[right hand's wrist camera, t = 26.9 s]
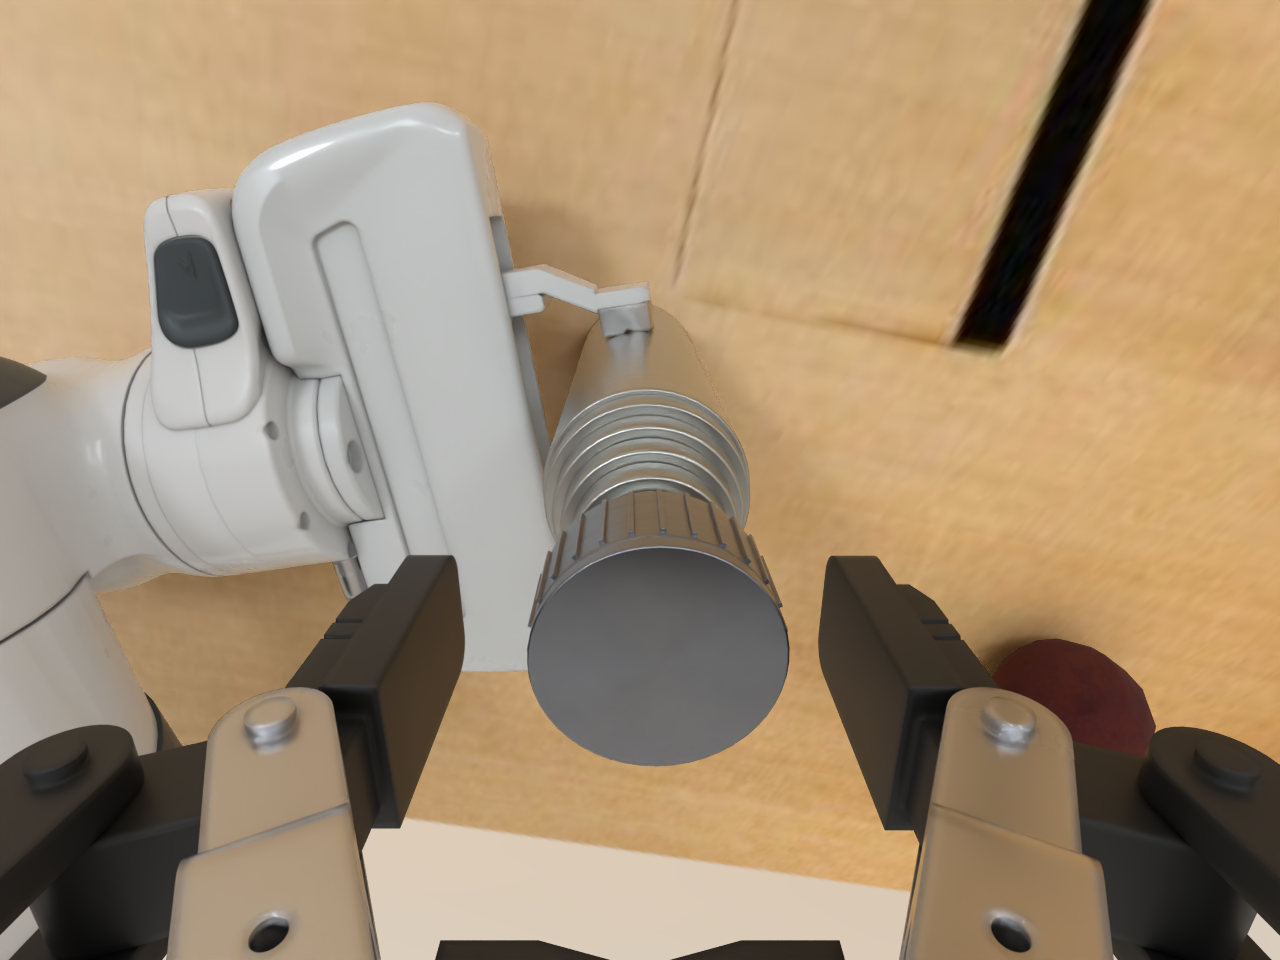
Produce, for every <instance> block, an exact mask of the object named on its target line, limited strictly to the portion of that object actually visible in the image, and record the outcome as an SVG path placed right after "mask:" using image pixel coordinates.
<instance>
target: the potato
mask: <svg viewBox="0 0 1280 960" xmlns="http://www.w3.org/2000/svg"><path fill="white" fill-rule="evenodd" d="M992 679H993V680H994V681H995V683H996V684H997V685H998V687H999V688H1000V689H1002V690H1007V691H1011V692H1014V693H1017V694H1020V695H1022V696H1025V697H1027V698H1030V699H1032V700H1034V701H1036V702H1037V703H1039V704H1041V705H1043V706H1044V707H1046V708H1047V709H1049V710H1050V711H1051V712H1053V713H1054V714H1055V715H1056V716H1057V717H1058V718H1059V719H1060V720H1061V721H1062V722H1063V723H1064V724H1065V726H1066V727H1067V728H1068V730H1069V732H1070V734H1071V737H1072V740H1073V741H1076V742H1079V743H1083V744H1087V745H1091V746H1096V747H1101V748H1105V749H1110V750H1114V751H1119V752H1124V753H1128V754H1133V755H1138V756H1142V757H1144V756H1145V754H1146V751H1147V748H1148V745H1149V742H1150V739H1151V737H1152V736H1153V734H1154V733H1155V729H1156V725H1155V722H1154V720H1153V717H1152V714H1151V711H1150V709H1149V706H1148V703H1147V700H1146V697H1145V695H1144V692H1143V689H1142V688H1141V687H1140V686H1139V685H1138V684H1137V683H1136V682H1135V681H1134V680H1133V678H1132V677H1131V676H1130V675H1129V674H1128V673H1127V672H1126V671H1125V670H1124V669H1122V668H1121V667H1120V666H1118V665H1117V664H1116V663H1115V662H1113V661H1112V660H1111V659H1109V658H1108V657H1107V656H1105V655H1104V654H1102V653H1100V652H1099V651H1097V650H1095V649H1093V648H1091V647H1088V646H1084V645H1081V644H1077V643H1073V642H1069V641H1065V640H1061V639H1048V640H1037V641H1035V642H1032V643H1030V644H1028V645H1026V646H1023V647H1021V648H1019V649H1017V650H1016V651H1015V652H1014V653H1012V654H1011V655H1010V656H1008V657H1007V658H1006V659H1005V660H1004V661H1003V662H1002V664H1001V665H1000V667H999V668H998V670H997V671H996V672H995V674H994V675H993V677H992Z"/></svg>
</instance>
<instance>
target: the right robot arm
mask: <svg viewBox="0 0 1280 960" xmlns="http://www.w3.org/2000/svg"><path fill="white" fill-rule="evenodd" d="M818 648H819V658H820V664H821V669H822V672H823V675H824V677H825V680H826V682H827V685H828V688H829V690H830V693H831V695H832V698H833V700H834V703H835V705H836V708H837V710H838V713H839V715H840V718H841V720H842V723H843V726H844V728H845V731H846V733H847V736H848V738H849V741H850V743H851V746H852V748H853V751H854V753H855V756H856V758H857V761H858V764H859V766H860V769H861V771H862V774H863V776H864V779H865V781H866V784H867V786H868V789H869V791H870V794H871V797H872V799H873V802H874V804H875V807H876V809H877V812H878V814H879V817H880V819H881V822H882V824H883V827H884V829H885V830H914V832H915V834H916V837H917V839H918V841H919V843H920V844H919V849H918V854H917V859H916V864H915V870H914V876H913V881H912V887H911V893H910V899H909V905H908V911H907V917H906V923H905V929H904V934H903V940H902V946H901V952H900V957H899V960H1114V959H1113V954H1114V955H1115V957H1116V958H1117V959H1118V960H1271V959H1270V958H1269V957H1268V956H1267V955H1266V954H1265V953H1264V952H1263V950H1262V949H1261V948H1260V947H1259V946H1258V945H1257V944H1256V943H1255V942H1254V941H1253V940H1252V939H1251V938H1250V937H1249V936H1248V935H1247V934H1248V932H1249V929H1250V927H1251V925H1252V923H1253V921H1254V918H1255V916H1256V914H1257V913H1258V914H1259V915H1260V916H1261V917H1262V918H1263V919H1264V920H1265V921H1266V922H1267V923H1268V924H1269V925H1270V926H1271V927H1272V928H1273V929H1274V930H1275V931H1276V932H1277V933H1278V934H1279V935H1280V765H1279V764H1278V763H1277V762H1275V761H1274V760H1272V759H1271V758H1269V757H1268V756H1266V755H1265V754H1263V753H1261V752H1260V751H1258V750H1256V749H1254V748H1252V747H1250V746H1248V745H1246V744H1244V743H1242V742H1240V741H1237V740H1235V739H1233V738H1230V737H1227V736H1224V735H1221V734H1219V733H1215V732H1211V731H1208V730H1203V729H1198V728H1191V727H1170V728H1164V729H1162V730H1159V731H1157V732H1156V733H1155V734H1153V736H1152V737H1151V739H1150V742H1149V745H1148V748H1147V751H1146V754H1145V756H1144V757H1142V756H1138V755H1133V754H1128V753H1124V752H1119V751H1114V750H1110V749H1105V748H1101V747H1096V746H1091V745H1087V744H1083V743H1079V742H1076V741H1073V740H1072V737H1071V734H1070V732H1069V730H1068V728H1067V727H1066V726H1065V724H1064V723H1063V722H1062V721H1061V720H1060V719H1059V718H1058V717H1057V716H1056V715H1055V714H1054V713H1053V712H1051V711H1050V710H1049V709H1047V708H1046V707H1044V706H1043V705H1041V704H1039V703H1037V702H1036V701H1034V700H1032V699H1030V698H1027V697H1025V696H1022V695H1020V694H1017V693H1014V692H1011V691H1007V690H1002V689H1000V688H999V687H998V685H997V684H996V683H995V681H994V680H993V679H992V677H991V676H990V675H989V673H988V672H987V671H986V669H985V668H984V667H983V665H982V664H981V663H980V661H979V660H978V659H977V657H976V656H975V655H974V653H973V652H972V651H971V649H970V648H969V647H968V645H967V644H966V643H965V641H964V640H961V639H960V635H959V633H958V632H957V631H956V629H955V628H954V627H953V625H952V624H949V623H948V619H947V618H946V616H945V615H944V614H943V612H942V611H941V610H940V608H939V607H938V606H937V604H936V603H935V602H934V601H933V600H932V599H930V598H929V597H927V596H926V595H924V594H923V593H921V592H920V591H918V590H917V589H915V588H914V587H912V586H911V585H896V583H895V582H894V580H893V579H892V577H891V576H890V575H889V573H888V572H887V570H886V569H885V567H884V566H883V564H882V563H881V561H880V560H879V559H878V557H876V556H831V557H830V558H829V559H828V562H827V566H826V572H825V581H824V590H823V599H822V609H821V618H820V627H819V637H818ZM464 653H465V631H464V622H463V613H462V603H461V594H460V585H459V576H458V567H457V563H456V560H455V557H454V556H453V555H408V556H406V558H405V559H404V560H403V562H402V563H401V565H400V566H399V568H398V569H397V571H396V572H395V574H394V575H393V577H392V578H391V580H390V581H389V583H388V584H373V585H372V586H370V587H369V588H367V589H366V590H364V591H363V592H361V593H360V594H358V595H357V596H355V597H354V598H352V599H351V600H350V601H349V602H348V604H347V605H346V606H345V608H344V609H343V610H342V612H341V613H340V614H339V616H338V617H337V618H336V623H333V624H332V625H331V626H330V628H329V629H328V630H327V632H326V633H325V634H324V639H321V640H320V641H319V643H318V644H317V645H316V647H315V648H314V649H313V651H312V652H311V653H310V655H309V656H308V657H307V659H306V660H305V661H304V663H303V664H302V665H301V667H300V668H299V670H298V671H297V672H296V674H295V675H294V676H293V678H292V679H291V680H290V682H289V683H288V684H287V686H286V687H285V688H283V689H278V690H273V691H269V692H266V693H263V694H260V695H258V696H255V697H253V698H250V699H248V700H246V701H244V702H243V703H241V704H239V705H237V706H236V707H234V708H233V709H231V710H230V711H229V712H227V713H226V714H225V715H224V716H223V717H222V718H221V719H220V720H219V721H218V722H217V723H216V724H215V726H214V727H213V728H212V730H211V732H210V734H209V737H208V741H204V742H200V743H196V744H191V745H187V746H182V747H178V748H173V749H168V750H164V751H159V752H154V753H150V754H145V755H140V756H138V753H137V750H136V747H135V744H134V741H133V738H132V736H131V734H130V733H129V732H128V731H127V730H126V729H124V728H121V727H119V726H114V725H90V726H84V727H79V728H74V729H71V730H67V731H64V732H61V733H58V734H55V735H52V736H50V737H47V738H45V739H43V740H40V741H38V742H36V743H34V744H32V745H30V746H28V747H26V748H25V749H23V750H21V751H19V752H18V753H16V754H14V755H13V756H12V757H10V758H9V759H7V760H6V761H5V762H3V763H2V764H1V765H0V935H1V934H2V933H3V932H4V931H5V930H6V929H7V928H8V927H9V926H10V925H11V924H12V923H13V922H14V921H15V920H16V919H17V918H18V917H19V916H20V915H21V914H22V913H23V912H24V911H25V910H26V909H27V908H28V907H29V908H30V910H31V912H32V914H33V917H34V919H35V921H36V923H37V925H38V929H37V930H36V931H35V933H34V934H33V935H32V936H31V937H30V938H29V939H28V940H27V941H26V942H25V943H24V944H23V945H22V946H21V947H20V948H19V949H18V950H17V951H16V953H15V954H14V955H13V956H12V957H11V958H10V959H9V960H162V959H163V958H164V957H165V955H166V954H167V958H166V960H381V957H380V952H379V946H378V940H377V934H376V928H375V922H374V917H373V911H372V905H371V899H370V893H369V888H368V882H367V876H366V870H365V864H364V859H363V854H362V849H363V847H364V844H365V842H366V840H367V838H368V835H369V833H370V831H371V828H400V827H401V825H402V822H403V820H404V817H405V814H406V812H407V809H408V807H409V804H410V802H411V799H412V796H413V794H414V791H415V789H416V786H417V783H418V781H419V778H420V776H421V773H422V771H423V768H424V765H425V763H426V760H427V758H428V755H429V753H430V750H431V747H432V745H433V742H434V740H435V737H436V734H437V732H438V729H439V727H440V724H441V722H442V719H443V716H444V714H445V711H446V709H447V706H448V704H449V701H450V698H451V696H452V693H453V691H454V688H455V685H456V683H457V680H458V678H459V675H460V673H461V670H462V666H463V660H464ZM435 960H608V959H604V958H601V957H597V956H594V955H590V954H586V953H583V952H579V951H575V950H571V949H568V948H564V947H561V946H557V945H553V944H549V943H546V942H542V941H539V940H493V941H492V940H466V941H465V940H441V941H440V944H439V948H438V951H437V955H436V959H435ZM672 960H845V959H844V955H843V951H842V948H841V944H840V941H839V940H742V941H738V942H734V943H730V944H727V945H723V946H719V947H716V948H712V949H708V950H705V951H701V952H697V953H694V954H690V955H687V956H683V957H679V958H675V959H672Z"/></svg>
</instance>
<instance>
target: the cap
mask: <svg viewBox="0 0 1280 960" xmlns="http://www.w3.org/2000/svg"><path fill="white" fill-rule="evenodd" d="M780 607H782V603H781V601H780V598H779V596H778V593H777V591H776V588H775V586H774V583H773V581H772V578H771V575H770V573H769V570H768V568H767V565H766V563H765V560H764V558H763V556H760V554H759V551H758V549H757V546H756V544H755V541H754V539H753V537H752V535H751V534H750V535H747V534H746V533H745V531H744V530H743V529H742V528H741V527H740V526H739V524H738V522H737V519H736V518H735V517H734V516H732V517H729V516H728V515H727V514H726V513H724V512H723V511H721V510H719V509H718V508H716V506H715V503H713V502H710V503H707V502H704V501H702V500H700V499H697V498H694V497H691V496H690V495H689V493H686V492H684V494H678V493H672V492H662V489H656V491H651V492H646V491H644V492H638V493H634V492H633V491H630V492H628V495H623V496H620V497H617V498H614V499H611V500H608V501H607V499H604V500H602V503H601V504H599V505H597V506H596V507H594V508H592V509H591V510H589V511H587V512H586V513H583V512H581V513H580V514H579V515H578V519H577V520H576V521H574V522H573V523H572V524H571V525H570V526H569V527H568V529H567V530H566V531H564V530H562V531H561V532H560V534H559V538H558V541H557V543H556V544H555V546H554V548H553V550H552V552H551V551H548V552H547V554H546V559H545V563H544V567H543V571H542V574H540V577H539V581H538V585H537V589H536V593H535V597H534V602H533V606H532V610H531V614H530V618H529V622H528V627H531V631H530V636H529V641H528V646H527V666H528V673H529V679H530V682H531V685H532V689H533V692H534V694H535V696H536V698H537V700H538V702H539V704H540V706H541V708H542V709H543V711H544V712H545V714H546V715H547V717H548V718H549V719H550V720H551V721H552V723H553V724H554V725H555V726H556V727H557V728H558V729H559V730H560V731H561V732H562V733H564V734H565V735H566V736H567V737H568V738H569V739H571V740H572V741H574V742H575V743H577V744H578V745H580V746H581V747H583V748H585V749H587V750H589V751H591V752H593V753H595V754H597V755H600V756H603V757H605V758H608V759H611V760H615V761H619V762H622V763H627V764H634V765H641V766H668V765H677V764H683V763H689V762H693V761H696V760H700V759H704V758H706V757H709V756H711V755H714V754H717V753H719V752H721V751H723V750H725V749H727V748H729V747H730V746H732V745H734V744H735V743H737V742H738V741H740V740H741V739H743V738H744V737H746V736H747V735H748V734H749V733H750V732H751V731H753V730H754V729H755V728H756V727H757V726H758V725H759V724H760V723H761V722H762V720H763V719H764V718H765V717H766V716H767V715H768V713H769V712H770V710H771V709H772V707H773V706H774V705H775V703H776V701H777V699H778V697H779V695H780V693H781V691H782V688H783V685H784V682H785V679H786V676H787V671H788V665H789V641H788V634H787V632H788V631H787V626H786V623H785V621H784V618H783V616H782V613H781V610H780Z"/></svg>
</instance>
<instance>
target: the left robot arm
mask: <svg viewBox="0 0 1280 960" xmlns="http://www.w3.org/2000/svg"><path fill="white" fill-rule="evenodd" d="M144 243H145V253H146V263H147V274H148V285H149V299H150V315H151V347H149V348H147V349H145V350H143V351H141V352H140V353H138V354H136V355H134V356H132V357H130V358H127V359H124V360H113V361H112V360H105V359H98V358H88V357H67V358H58V359H51V360H45V361H39V362H32V363H26V364H21V363H18V362H16V361H13V360H10V359H6V358H3V357H0V765H1V764H2V763H3V762H5V761H6V760H7V759H9V758H10V757H12V756H13V755H14V754H16V753H18V752H19V751H21V750H23V749H25V748H26V747H28V746H30V745H32V744H34V743H36V742H38V741H40V740H43V739H45V738H47V737H50V736H52V735H55V734H58V733H61V732H64V731H67V730H71V729H74V728H79V727H84V726H90V725H114V726H119V727H121V728H124V729H126V730H127V731H128V732H129V733H130V734H131V736H132V738H133V741H134V744H135V747H136V750H137V753H138V756H140V755H145V754H150V753H154V752H159V751H164V750H168V749H173V748H178V747H182V745H181V743H180V742H179V740H178V739H177V737H176V736H175V734H174V732H173V731H172V729H171V728H170V726H169V725H168V723H167V722H166V720H165V718H164V717H163V715H162V714H161V712H160V711H159V709H158V708H157V706H156V704H155V703H154V701H153V700H152V699H151V698H150V697H149V696H148V695H147V694H146V693H145V692H144V691H143V689H142V687H141V685H140V683H139V681H138V679H137V677H136V675H135V673H134V671H133V669H132V667H131V665H130V663H129V661H128V659H127V657H126V655H125V653H124V651H123V649H122V647H121V645H120V643H119V641H118V639H117V636H116V634H115V632H114V630H113V628H112V626H111V624H110V622H109V620H108V618H107V616H106V614H105V612H104V610H103V608H102V606H101V604H100V602H99V600H98V598H97V596H96V594H98V593H106V592H113V591H118V590H123V589H127V588H132V587H135V586H138V585H141V584H143V583H145V582H148V581H150V580H152V579H154V578H157V577H159V576H161V575H164V574H168V573H182V574H188V575H195V576H204V577H221V576H231V575H239V574H246V573H254V572H261V571H268V570H276V569H283V568H290V567H296V566H303V565H311V564H319V563H326V562H332V563H333V566H334V569H335V572H336V574H337V577H338V580H339V583H340V586H341V588H342V591H343V593H344V595H345V597H346V599H347V601H348V602H349V601H350V600H351V599H352V598H354V597H355V596H357V595H358V594H360V593H361V592H363V591H364V590H366V589H367V588H369V587H370V586H372V585H373V584H388V583H389V581H390V580H391V578H392V577H393V575H394V574H395V572H396V571H397V569H398V568H399V566H400V565H401V563H402V562H403V560H404V559H405V558H406V556H408V555H453V556H454V557H455V560H456V563H457V567H458V576H459V585H460V594H461V603H462V613H463V622H464V631H465V653H464V660H463V666H462V670H461V672H514V671H528V666H527V646H528V641H529V636H530V631H531V627H528V622H529V618H530V614H531V610H532V606H533V602H534V597H535V593H536V589H537V585H538V581H539V577H540V574H542V571H543V567H544V563H545V559H546V554H547V552H548V551H551V552H552V550H553V548H554V546H555V544H556V542H555V540H554V538H553V536H552V534H551V531H550V529H549V526H548V522H547V519H546V513H545V506H544V495H543V475H544V468H545V464H546V460H547V457H548V453H549V450H550V447H551V442H550V437H549V432H548V427H547V422H546V418H545V413H544V408H543V403H542V398H541V393H540V389H539V384H538V379H537V374H536V369H535V365H534V360H533V355H532V350H531V345H530V340H529V336H528V331H527V326H526V321H525V316H524V315H527V314H533V313H539V312H542V311H543V310H544V309H545V308H546V307H547V306H548V305H549V304H550V302H551V301H552V299H551V297H554V298H556V299H559V300H562V301H564V302H567V303H570V304H572V305H575V306H578V307H580V308H583V309H586V310H588V311H591V312H594V313H596V314H598V313H599V318H600V324H601V329H602V334H603V338H604V337H611V336H617V335H620V334H624V333H625V332H626V331H627V330H628V329H629V330H631V331H633V332H644V331H649V330H652V329H654V319H653V312H652V304H651V297H650V290H649V283H648V282H638V283H631V284H625V285H618V286H612V287H605V288H599V289H598V286H597V285H596V284H594V283H591V282H589V281H586V280H584V279H581V278H579V277H576V276H574V275H571V274H569V273H567V272H564V271H562V270H559V269H557V268H554V267H552V266H549V265H547V264H542V265H536V266H529V267H523V268H517V269H515V268H514V263H513V259H512V254H511V249H510V244H509V239H508V234H507V230H506V225H505V220H504V215H503V210H502V206H501V201H500V196H499V191H498V186H497V181H496V177H495V172H494V167H493V162H492V157H491V152H490V148H489V143H488V139H487V137H486V135H485V133H484V132H483V130H482V129H481V128H480V127H478V126H477V125H476V124H474V123H473V122H472V121H470V120H469V119H468V118H467V117H465V116H464V115H462V114H461V113H459V112H458V111H456V110H455V109H453V108H451V107H449V106H446V105H444V104H440V103H436V102H420V103H413V104H407V105H401V106H396V107H392V108H387V109H383V110H379V111H375V112H371V113H367V114H363V115H360V116H356V117H352V118H349V119H345V120H342V121H339V122H336V123H333V124H329V125H326V126H323V127H320V128H318V129H315V130H312V131H309V132H306V133H304V134H301V135H298V136H296V137H293V138H291V139H288V140H285V141H283V142H281V143H279V144H277V145H275V146H272V147H271V148H269V149H267V150H266V151H264V152H262V153H261V154H260V155H258V156H257V157H255V158H254V159H253V160H252V161H251V162H250V163H249V164H248V165H247V166H246V168H245V169H244V170H243V171H242V173H241V175H240V177H239V178H238V180H237V182H236V185H235V188H214V189H203V190H195V191H188V192H183V193H178V194H174V195H169V196H165V197H162V198H159V199H157V200H155V201H153V202H152V203H151V204H150V205H149V206H148V208H147V210H146V213H145V217H144ZM37 929H38V925H37V923H36V921H35V919H34V917H33V914H32V912H31V910H30V908H29V907H28V908H27V909H26V910H25V911H24V912H23V913H22V914H21V915H20V916H19V917H18V918H17V919H16V920H15V921H14V922H13V923H12V924H11V925H10V926H9V927H8V928H7V929H6V930H5V931H4V932H3V933H2V934H1V935H0V960H9V959H10V958H11V957H12V956H13V955H14V954H15V953H16V951H17V950H18V949H19V948H20V947H21V946H22V945H23V944H24V943H25V942H26V941H27V940H28V939H29V938H30V937H31V936H32V935H33V934H34V933H35V931H36V930H37Z"/></svg>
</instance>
